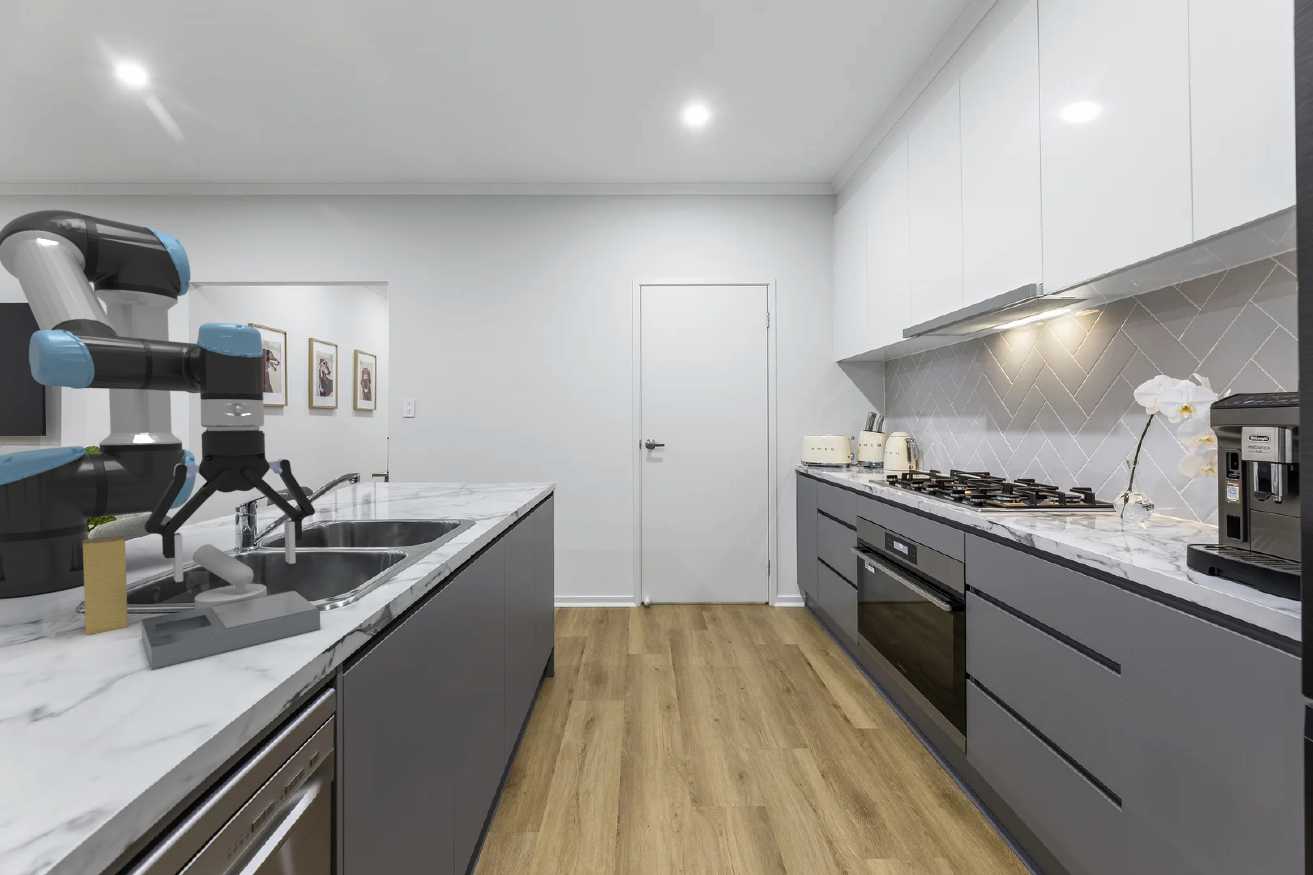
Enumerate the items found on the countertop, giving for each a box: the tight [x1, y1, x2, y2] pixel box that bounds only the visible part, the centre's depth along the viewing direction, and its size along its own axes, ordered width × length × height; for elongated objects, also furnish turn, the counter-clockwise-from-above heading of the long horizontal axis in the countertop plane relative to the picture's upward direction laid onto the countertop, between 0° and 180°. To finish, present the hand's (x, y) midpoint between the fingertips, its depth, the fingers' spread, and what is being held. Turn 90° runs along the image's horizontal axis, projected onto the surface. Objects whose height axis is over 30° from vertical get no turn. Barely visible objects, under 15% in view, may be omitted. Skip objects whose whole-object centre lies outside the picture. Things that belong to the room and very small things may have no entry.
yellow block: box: [83, 535, 129, 636], centre depth 76 cm, size 4×4×12 cm
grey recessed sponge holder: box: [140, 590, 321, 670], centre depth 74 cm, size 13×17×3 cm
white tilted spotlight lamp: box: [192, 543, 268, 609], centre depth 84 cm, size 9×10×10 cm
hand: (237, 570), depth 84 cm, fingers open, 13 cm apart
